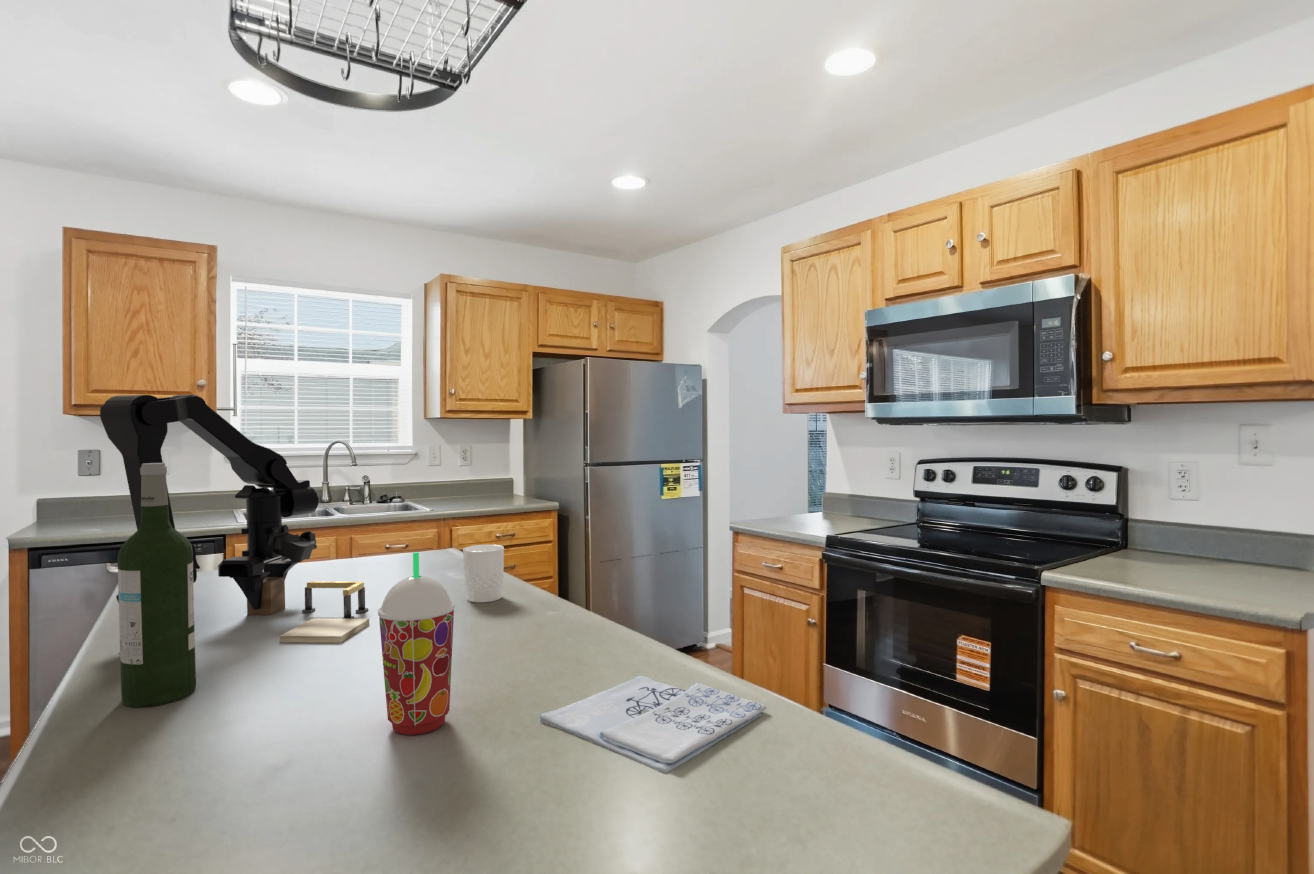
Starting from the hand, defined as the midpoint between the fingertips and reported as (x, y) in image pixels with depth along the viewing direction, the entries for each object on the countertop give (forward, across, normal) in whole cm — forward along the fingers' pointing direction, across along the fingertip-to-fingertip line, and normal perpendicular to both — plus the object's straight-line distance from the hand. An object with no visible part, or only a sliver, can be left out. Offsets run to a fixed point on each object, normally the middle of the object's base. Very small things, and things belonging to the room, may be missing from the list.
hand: (266, 604), depth 133 cm
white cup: (+2, +10, -38) cm, 39 cm away
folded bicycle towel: (+2, -45, -74) cm, 87 cm away
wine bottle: (+1, -40, -10) cm, 41 cm away
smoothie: (+2, -48, -47) cm, 67 cm away
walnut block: (+1, 0, 0) cm, 1 cm away
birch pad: (+1, -13, -18) cm, 22 cm away
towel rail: (+1, -3, -13) cm, 13 cm away
